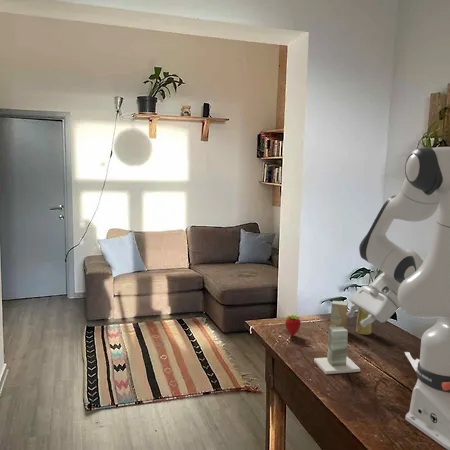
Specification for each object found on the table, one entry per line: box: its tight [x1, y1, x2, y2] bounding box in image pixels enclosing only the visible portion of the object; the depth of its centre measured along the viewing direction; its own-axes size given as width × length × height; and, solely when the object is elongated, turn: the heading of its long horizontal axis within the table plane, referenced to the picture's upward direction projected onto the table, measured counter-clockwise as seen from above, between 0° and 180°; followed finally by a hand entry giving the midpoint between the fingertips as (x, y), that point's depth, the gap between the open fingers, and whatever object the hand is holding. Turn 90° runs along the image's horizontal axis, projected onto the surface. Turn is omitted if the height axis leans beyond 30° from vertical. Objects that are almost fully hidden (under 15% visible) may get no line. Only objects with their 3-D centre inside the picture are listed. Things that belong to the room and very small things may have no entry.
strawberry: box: [285, 313, 302, 338], centre depth 178 cm, size 6×8×10 cm
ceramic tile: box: [313, 356, 361, 375], centre depth 152 cm, size 10×12×1 cm
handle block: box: [326, 326, 349, 366], centre depth 151 cm, size 4×5×12 cm
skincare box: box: [329, 300, 349, 330], centre depth 183 cm, size 6×4×12 cm
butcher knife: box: [404, 351, 420, 373], centre depth 156 cm, size 5×15×1 cm, turn 171°
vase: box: [355, 309, 373, 336], centre depth 183 cm, size 6×6×14 cm
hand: (354, 320), depth 151 cm, fingers open, 8 cm apart
